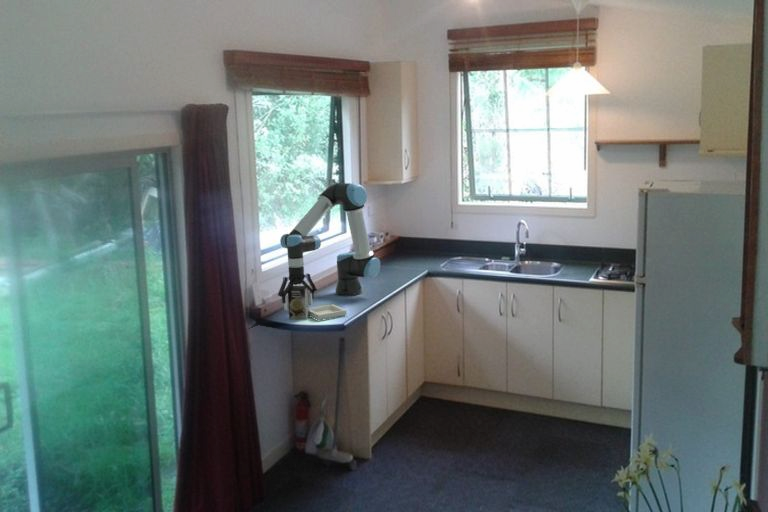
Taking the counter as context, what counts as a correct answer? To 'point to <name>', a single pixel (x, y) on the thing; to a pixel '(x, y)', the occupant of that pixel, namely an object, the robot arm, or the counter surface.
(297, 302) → the coffee box
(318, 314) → the tray
